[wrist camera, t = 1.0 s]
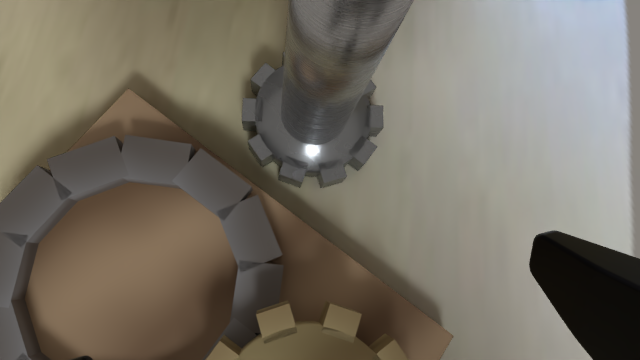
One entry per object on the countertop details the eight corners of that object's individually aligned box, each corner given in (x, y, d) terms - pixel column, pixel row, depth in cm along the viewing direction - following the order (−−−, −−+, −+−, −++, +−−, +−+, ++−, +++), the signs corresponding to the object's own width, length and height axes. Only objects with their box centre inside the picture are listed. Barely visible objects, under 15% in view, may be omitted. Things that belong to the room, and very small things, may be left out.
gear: (400, 113, 23) (569, -82, 10) (324, 215, 22) (410, 139, 9) (298, 37, 24) (335, -250, 10) (215, 132, 22) (134, -67, 9)
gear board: (457, 342, 21) (512, 365, 16) (296, 612, 18) (305, 737, 13) (136, 97, 22) (98, 50, 17) (-75, 318, 19) (-194, 336, 14)
